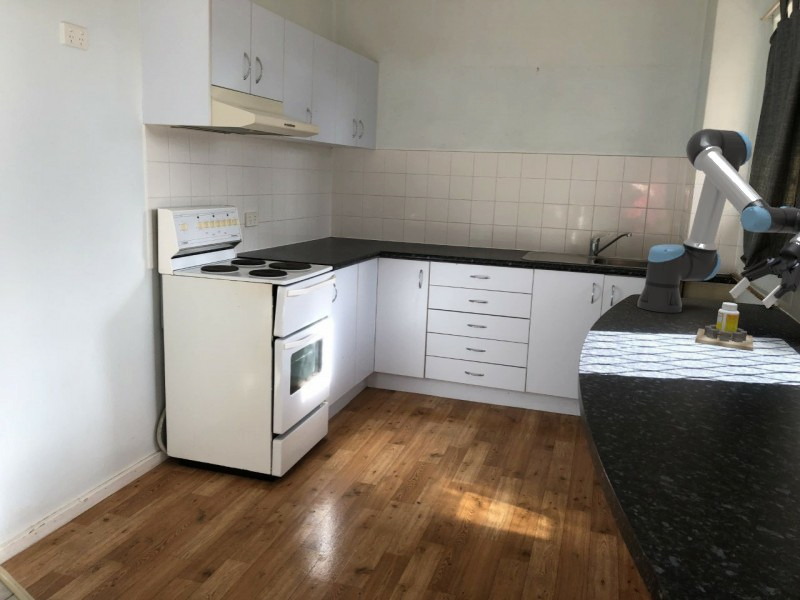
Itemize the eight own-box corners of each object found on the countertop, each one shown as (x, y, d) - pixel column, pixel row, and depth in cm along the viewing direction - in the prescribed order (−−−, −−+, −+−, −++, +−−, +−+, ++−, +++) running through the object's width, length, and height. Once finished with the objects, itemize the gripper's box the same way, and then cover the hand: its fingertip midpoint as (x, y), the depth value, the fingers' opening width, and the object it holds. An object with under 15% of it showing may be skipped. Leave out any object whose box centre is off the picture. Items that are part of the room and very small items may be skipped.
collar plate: (695, 342, 194) (696, 330, 194) (698, 331, 209) (699, 320, 209) (752, 350, 188) (754, 338, 187) (751, 339, 203) (753, 327, 202)
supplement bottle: (738, 338, 198) (744, 304, 196) (730, 340, 195) (735, 306, 193) (720, 334, 202) (725, 301, 200) (711, 336, 199) (716, 302, 197)
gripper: (841, 265, 186) (786, 318, 186) (774, 253, 210) (725, 300, 210) (828, 246, 184) (773, 299, 184) (762, 236, 208) (713, 283, 208)
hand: (748, 299), depth 197 cm, fingers open, 13 cm apart
